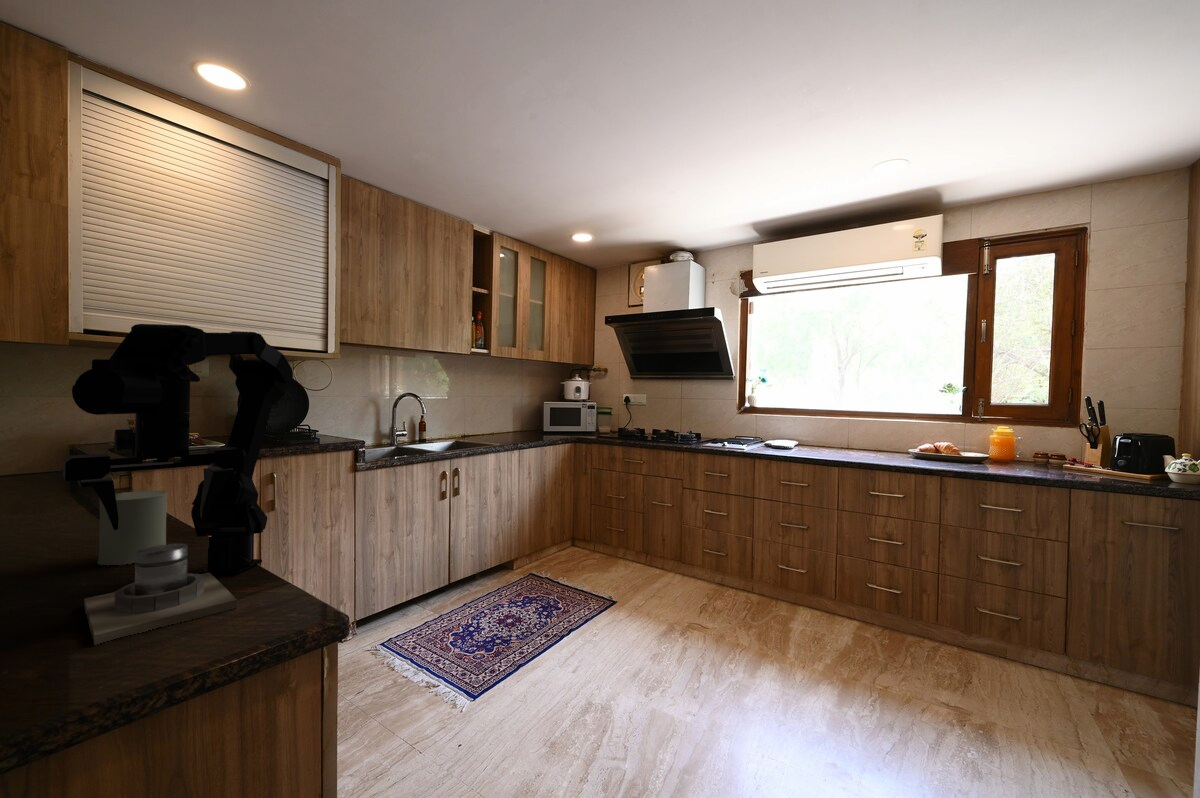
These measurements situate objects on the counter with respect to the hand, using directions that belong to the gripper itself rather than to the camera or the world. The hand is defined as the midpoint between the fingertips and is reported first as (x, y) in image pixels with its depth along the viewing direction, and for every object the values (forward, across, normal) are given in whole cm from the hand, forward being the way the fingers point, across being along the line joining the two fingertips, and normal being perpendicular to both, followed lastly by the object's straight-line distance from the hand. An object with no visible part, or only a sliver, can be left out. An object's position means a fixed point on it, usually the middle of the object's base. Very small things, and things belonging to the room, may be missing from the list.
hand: (161, 523), depth 68 cm
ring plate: (+12, 0, 0) cm, 12 cm away
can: (+12, -1, -32) cm, 34 cm away
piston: (+11, 0, 0) cm, 11 cm away
